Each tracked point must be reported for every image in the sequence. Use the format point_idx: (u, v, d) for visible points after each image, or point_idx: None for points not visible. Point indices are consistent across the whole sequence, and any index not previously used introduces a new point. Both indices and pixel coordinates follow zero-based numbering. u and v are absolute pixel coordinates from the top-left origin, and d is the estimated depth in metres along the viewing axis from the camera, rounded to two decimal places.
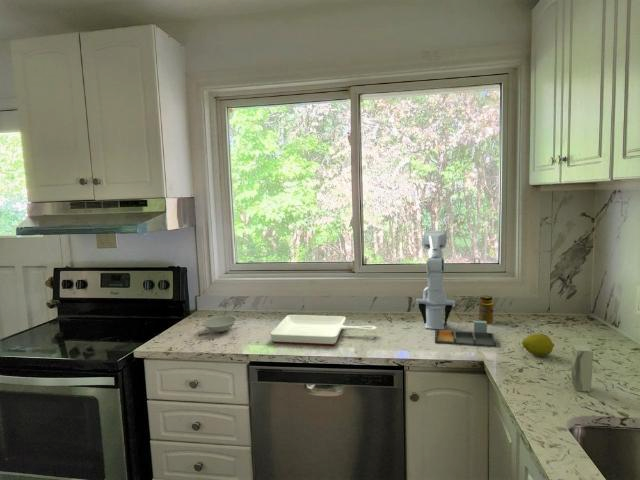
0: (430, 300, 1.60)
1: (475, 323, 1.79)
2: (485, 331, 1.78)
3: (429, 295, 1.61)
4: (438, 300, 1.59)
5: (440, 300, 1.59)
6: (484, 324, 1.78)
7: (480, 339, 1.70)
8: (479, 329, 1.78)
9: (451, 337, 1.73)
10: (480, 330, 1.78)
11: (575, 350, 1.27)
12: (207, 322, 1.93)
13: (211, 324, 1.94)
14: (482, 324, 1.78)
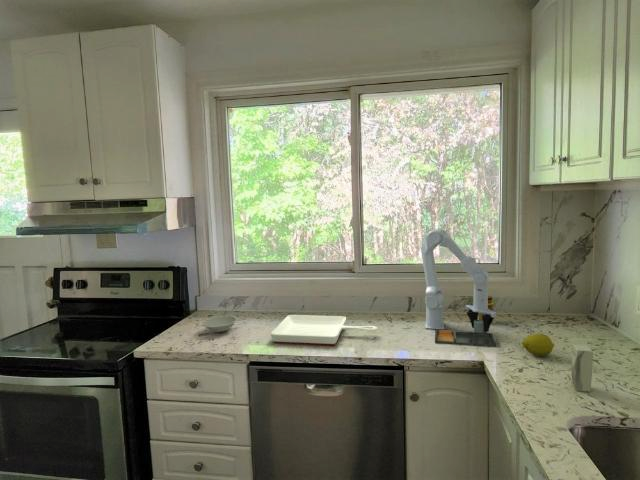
0: (473, 307, 1.79)
1: (475, 323, 1.79)
2: None
3: (473, 303, 1.79)
4: (479, 308, 1.76)
5: (481, 309, 1.76)
6: None
7: (480, 339, 1.70)
8: (479, 329, 1.78)
9: (451, 337, 1.73)
10: (480, 330, 1.78)
11: (575, 350, 1.27)
12: (207, 322, 1.93)
13: (211, 324, 1.94)
14: (482, 324, 1.78)
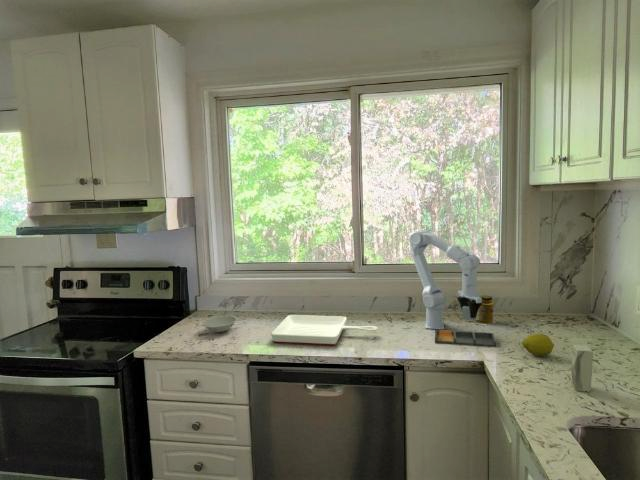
0: (462, 292, 1.77)
1: (463, 308, 1.77)
2: None
3: None
4: (465, 294, 1.74)
5: (467, 294, 1.74)
6: None
7: (480, 339, 1.70)
8: (467, 314, 1.76)
9: (451, 337, 1.73)
10: (468, 316, 1.76)
11: (575, 350, 1.27)
12: (207, 322, 1.93)
13: (211, 324, 1.94)
14: None
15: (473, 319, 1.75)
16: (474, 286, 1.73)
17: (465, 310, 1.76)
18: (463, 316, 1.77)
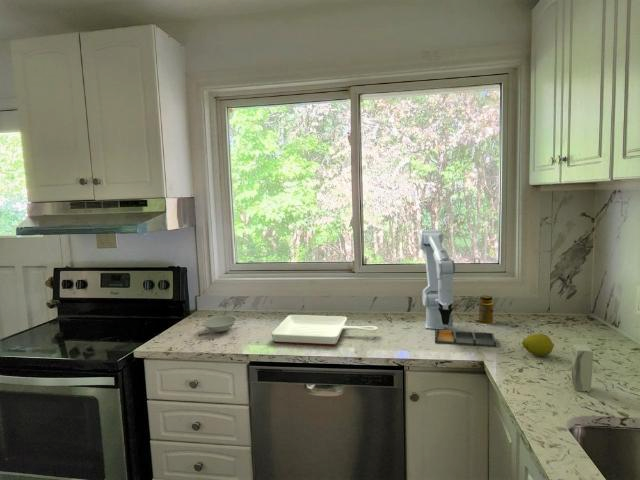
0: None
1: (439, 314, 1.73)
2: None
3: None
4: (439, 299, 1.71)
5: (440, 299, 1.70)
6: None
7: (480, 339, 1.70)
8: None
9: (451, 337, 1.73)
10: None
11: (575, 350, 1.27)
12: (207, 322, 1.93)
13: (211, 324, 1.94)
14: None
15: (446, 326, 1.70)
16: (447, 292, 1.69)
17: (440, 316, 1.73)
18: (439, 322, 1.74)
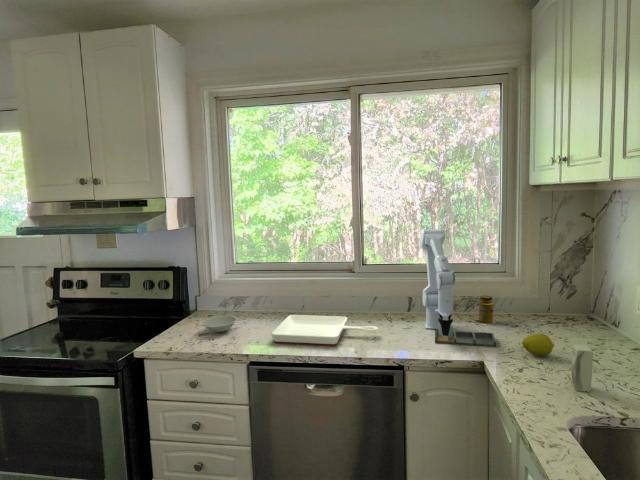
0: None
1: (439, 325, 1.74)
2: None
3: None
4: (439, 309, 1.72)
5: (440, 310, 1.71)
6: None
7: (480, 339, 1.70)
8: None
9: None
10: None
11: (575, 350, 1.27)
12: (207, 322, 1.93)
13: (211, 324, 1.94)
14: None
15: (447, 338, 1.71)
16: (447, 303, 1.69)
17: (440, 327, 1.73)
18: (439, 333, 1.74)
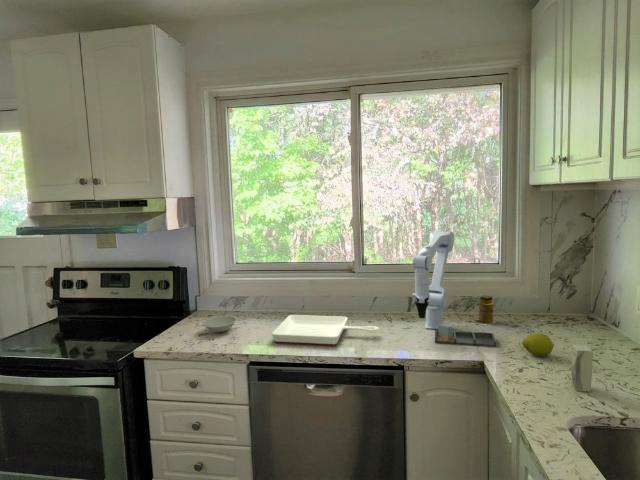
0: None
1: (439, 325, 1.74)
2: (446, 335, 1.71)
3: None
4: (415, 293, 1.76)
5: (417, 293, 1.75)
6: (445, 328, 1.71)
7: (480, 339, 1.70)
8: (442, 332, 1.73)
9: None
10: (442, 333, 1.73)
11: (575, 350, 1.27)
12: (207, 322, 1.93)
13: (211, 324, 1.94)
14: (444, 328, 1.72)
15: (447, 338, 1.71)
16: (423, 286, 1.73)
17: (440, 327, 1.73)
18: (439, 333, 1.74)
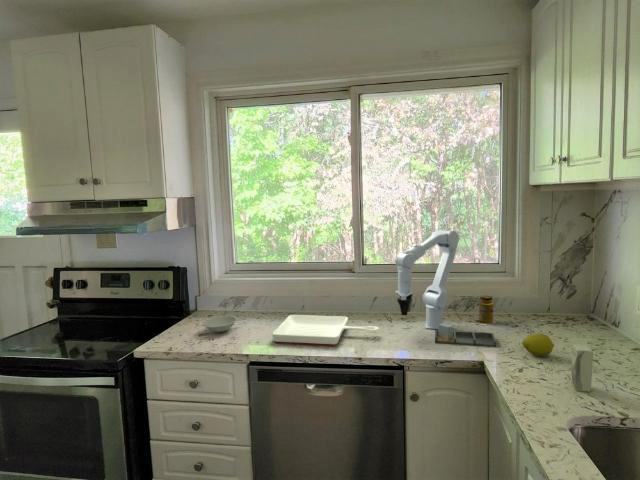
0: None
1: (439, 325, 1.74)
2: (446, 335, 1.71)
3: None
4: (398, 290, 1.79)
5: (399, 291, 1.79)
6: (445, 328, 1.71)
7: (480, 339, 1.70)
8: (442, 332, 1.73)
9: None
10: (442, 333, 1.73)
11: (575, 350, 1.27)
12: (207, 322, 1.93)
13: (211, 324, 1.94)
14: (444, 328, 1.72)
15: (447, 338, 1.71)
16: (405, 284, 1.77)
17: (440, 327, 1.73)
18: (439, 333, 1.74)
